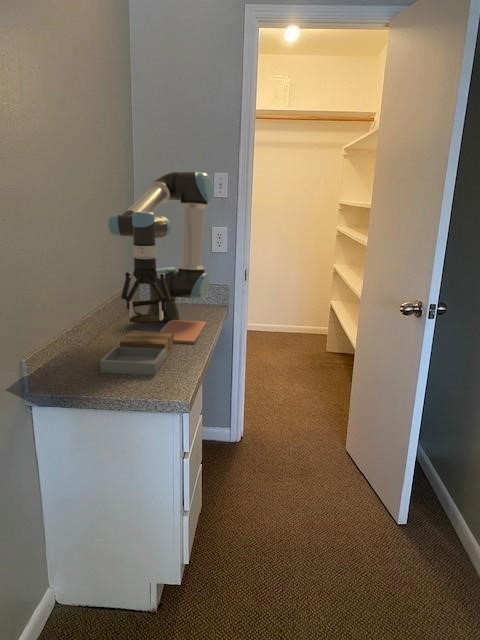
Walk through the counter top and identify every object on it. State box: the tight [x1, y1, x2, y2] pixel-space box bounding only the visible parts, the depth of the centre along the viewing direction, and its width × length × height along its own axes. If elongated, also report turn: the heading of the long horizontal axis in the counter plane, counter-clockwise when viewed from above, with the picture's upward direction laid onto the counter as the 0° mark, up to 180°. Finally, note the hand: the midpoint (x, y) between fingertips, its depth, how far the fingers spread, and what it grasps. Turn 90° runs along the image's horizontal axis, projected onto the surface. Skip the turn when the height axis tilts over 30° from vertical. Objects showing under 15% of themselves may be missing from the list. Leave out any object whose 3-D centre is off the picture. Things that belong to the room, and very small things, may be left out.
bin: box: [99, 345, 168, 376], centre depth 151 cm, size 16×18×4 cm
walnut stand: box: [119, 330, 175, 355], centre depth 166 cm, size 14×16×5 cm
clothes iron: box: [128, 299, 163, 324], centre depth 162 cm, size 7×11×10 cm, turn 111°
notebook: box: [159, 319, 208, 345], centre depth 187 cm, size 27×17×2 cm, turn 174°
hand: (146, 318), depth 163 cm, fingers closed on clothes iron, 10 cm apart
